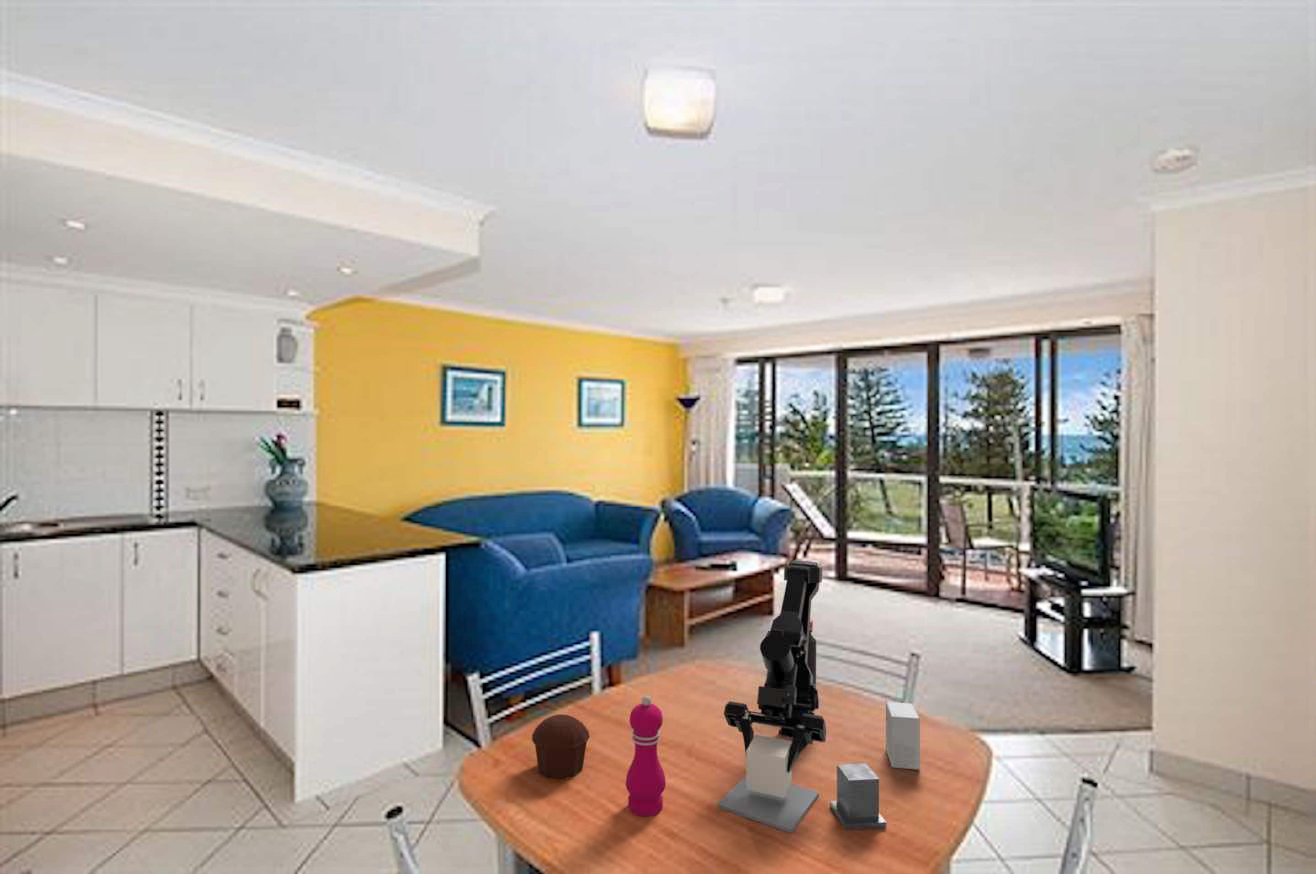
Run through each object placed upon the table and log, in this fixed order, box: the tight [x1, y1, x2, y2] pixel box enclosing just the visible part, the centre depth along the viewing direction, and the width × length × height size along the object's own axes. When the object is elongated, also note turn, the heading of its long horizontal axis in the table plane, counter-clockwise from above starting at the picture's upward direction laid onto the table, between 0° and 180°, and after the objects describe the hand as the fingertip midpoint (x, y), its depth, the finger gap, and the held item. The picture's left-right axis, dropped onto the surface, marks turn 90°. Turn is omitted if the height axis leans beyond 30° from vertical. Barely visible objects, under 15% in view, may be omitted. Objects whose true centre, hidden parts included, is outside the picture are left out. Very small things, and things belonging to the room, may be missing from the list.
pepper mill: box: [625, 695, 667, 817], centre depth 117 cm, size 7×7×20 cm
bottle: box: [807, 618, 817, 687], centre depth 168 cm, size 7×7×20 cm
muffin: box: [531, 714, 591, 781], centre depth 131 cm, size 12×11×10 cm
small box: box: [885, 701, 921, 771], centre depth 135 cm, size 8×6×10 cm
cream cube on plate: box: [745, 734, 793, 798], centre depth 119 cm, size 7×7×7 cm
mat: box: [717, 775, 820, 834], centre depth 119 cm, size 14×14×1 cm
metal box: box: [829, 762, 887, 831], centre depth 115 cm, size 7×7×8 cm
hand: (767, 767), depth 118 cm, fingers closed on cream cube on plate, 7 cm apart
